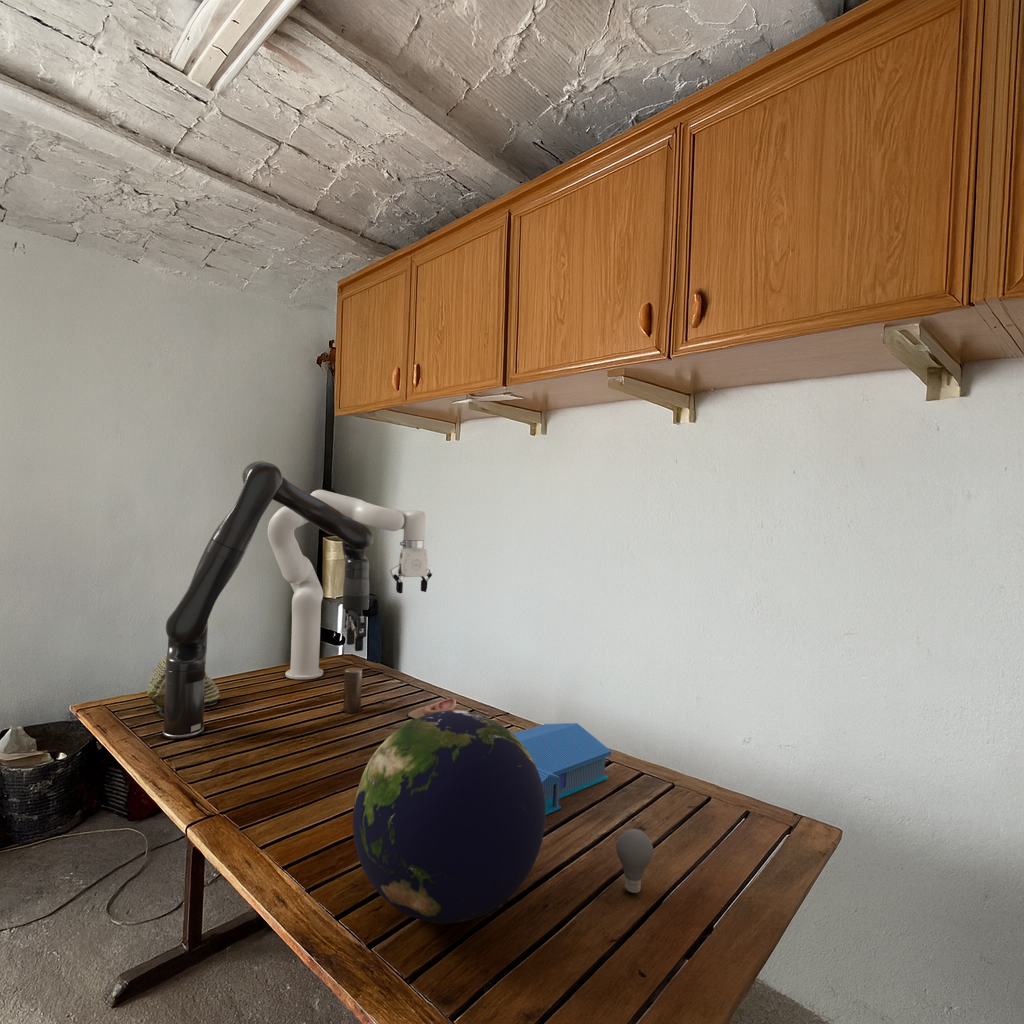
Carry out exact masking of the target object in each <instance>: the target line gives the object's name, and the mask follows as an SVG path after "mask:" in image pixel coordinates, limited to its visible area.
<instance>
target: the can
mask: <svg viewBox="0 0 1024 1024" xmlns="http://www.w3.org/2000/svg"><path fill="white" fill-rule="evenodd" d="M362 683H363V669H362V668H360V667H348V668H346V669H344V684H343V685H344V686H343V707H342V712H343V713H346V714H357V713H359V712H361V711H362V707H361V706H362V688H363V687H362V685H363V684H362Z"/></svg>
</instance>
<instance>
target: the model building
mask: <svg viewBox="0 0 1024 1024" xmlns="http://www.w3.org/2000/svg"><path fill="white" fill-rule="evenodd" d="M512 734H513V735H514V736H515V737H516V738H517V739H518V740H519V741H520V742H521V743H522V744H523V746H524V747H525V748H526V749H527V751H528V752H529V754H530V756H531V757H532V759H533V761H534V763H535V765H536V768H537V770H538V773H539V775H540V779H541V782H542V786H543V791H544V796H545V806H546V816H547V815H549V814H552V813H554V812H556V811H559V810H561V809H562V806H561V805H560V799H563V798H565V797H567V796H570V795H572V794H575V793H578V792H580V791H583V790H584V789H587V788H589V787H591V786H594V785H596V784H599V783H601V782H603V781H606V780H609V776H608V775H606V758H607V757H610V756H612V750H611V749H609V748H608V747H607V746H606V745H605V744H603V742H601V741H600V740H598V739H597V738H596V737H595V736H594V735H592V734H591V733H590V732H589V731H588V730H586V729H585V728H584V727H583V726H581V725H580V724H579V723H578V722H572V723H571V722H568V723H564V722H563V723H544V724H540V725H537V726H533V727H531V728H527V729H524V730H523V729H522V730H520V731H516V732H512Z"/></svg>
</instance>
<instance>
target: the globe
mask: <svg viewBox="0 0 1024 1024" xmlns="http://www.w3.org/2000/svg"><path fill="white" fill-rule="evenodd" d="M546 816H547V815H546V806H545V796H544V791H543V786H542V782H541V779H540V775H539V773H538V770H537V768H536V765H535V763H534V761H533V759H532V757H531V756H530V754H529V752H528V751H527V749H526V748H525V747H524V746H523V744H522V743H521V742H520V741H519V740H518V739H517V738H516V737H515V736H514V735H513V732H511V730H509V729H507V728H506V727H505V726H503V725H502V724H500V723H498V722H497V721H495V720H493V719H492V718H489V717H487V716H485V715H481V714H479V713H476V712H471V711H467V710H458V709H457V710H454V711H441V712H435V713H431V714H428V715H424V716H421V717H419V718H417V719H415V718H413V720H410V721H409V722H407V723H405V724H404V725H402V726H400V727H399V728H398V729H397V730H395V731H394V732H392V734H390V735H389V736H388V737H386V739H385V740H384V741H383V742H382V743H381V744H380V745H379V746H378V747H377V749H376V750H375V752H374V753H373V755H372V756H371V757H370V759H369V761H368V762H367V764H366V766H365V768H364V771H363V772H362V775H361V777H360V780H359V783H358V786H357V789H356V793H355V797H354V803H353V808H352V831H353V841H354V845H355V846H354V847H355V851H356V855H357V856H358V860H359V863H360V866H361V868H362V870H363V872H364V874H365V876H366V877H367V878H368V881H369V882H370V884H371V885H372V887H373V888H374V889H375V890H376V891H377V893H378V895H380V896H381V897H382V898H383V899H384V900H385V901H386V902H387V903H388V904H389V905H391V906H392V907H394V908H395V909H396V910H398V911H399V912H401V913H403V914H404V915H407V916H409V917H411V918H414V919H416V920H419V921H423V922H427V923H432V924H441V925H443V924H447V925H448V924H458V923H463V922H468V921H471V920H474V919H478V918H480V917H482V916H484V915H487V914H489V913H490V912H492V911H494V910H495V909H497V908H498V907H500V906H501V905H503V904H504V903H505V902H506V901H507V900H508V899H509V898H511V897H512V896H513V895H514V894H515V892H516V891H517V890H519V888H520V887H521V886H522V884H523V883H524V882H525V880H526V879H527V877H528V876H529V874H530V872H531V870H532V869H533V867H534V865H535V863H536V860H537V858H538V856H539V853H540V850H541V847H542V844H543V839H544V834H545V830H546V829H545V828H546V818H547V817H546Z"/></svg>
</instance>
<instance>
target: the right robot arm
mask: <svg viewBox="0 0 1024 1024" xmlns="http://www.w3.org/2000/svg"><path fill="white" fill-rule="evenodd" d="M309 494H310V495H312V496H314V497H316V498H318V499H320V500H322V501H323V502H325V503H327V504H328V505H330V506H332V507H333V508H335V509H337V510H338V511H340V512H341V513H342V514H344V515H345V516H347V517H349V518H351V519H353V520H355V521H357V522H359V523H361V524H363V525H365V526H368V527H369V526H370V527H373V528H378V529H381V530H385V531H390V532H398V531H400V530H403V537H402V541H400V542H399V546H400V547H402V548H401V549H400V552H399V557H398V558H399V559H398V564H397V565H396V566H394V567H392V568H390V570H389V572H390V575H391V577H392V578H393V579H394V581H395V590H396V593H398V594H403V592H404V591H403V590H404V582H403V580H404V579H405V577H406V578H418V577H419V578H421V581H420V592H423V593H426V592H427V591H428V590H427V589H428V582H429V580H430V578H432V576H433V574H434V572H435V568H434V567H432V566H430V565H429V561H428V553H427V552H428V551H427V548H425V534H426V533H425V532H426V514H425V512H424V511H421V510H400V509H392V508H388V507H385V506H380V505H378V504H377V505H376V504H373V503H370V502H367V501H364V500H363V499H360V498H357V497H354V496H348V495H344V494H341V493H336V492H332V491H329V490H325V489H316V490H313V491H312V492H311V493H309ZM307 523H310V522H309V521H307V520H306V519H304V518H303V517H301V516H300V515H298V514H297V513H295V512H294V511H292V510H291V509H289V508H287V507H286V506H284V505H283V506H281V507H280V508H279V509H277V511H276V512H275V513H274V514H273V515H272V517H271V518H270V520H269V522H268V526H267V537H268V542H269V544H270V547H271V549H272V552H273V554H274V557H275V559H276V562H277V564H278V567H279V569H280V570H279V571H280V572H281V575H282V577H283V579H284V580H285V581H286V582H287V583H289V584H290V586H291V589H292V591H293V595H292V598H291V639H290V641H291V642H290V667H289V668H290V669H287V670H286V671H285V674H284V675H285V677H286V678H288V679H291V680H296V681H303V680H304V681H306V680H313V679H318V678H320V677H322V676H323V675H324V670H323V669H322V668H320V650H321V649H320V647H321V615H322V613H321V612H322V601H323V598H324V590H323V587H322V585H321V582H320V581H319V578H318V576H317V572H316V570H315V568H314V566H313V564H312V562H311V560H310V559H309V558H308V557H307V556H305V555H304V554H303V553H302V550H301V548H300V545H299V543H298V541H297V539H296V536H295V530H296V529H297V528H300V527H302V526H303V525H305V524H307ZM397 573H398V574H397Z"/></svg>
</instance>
